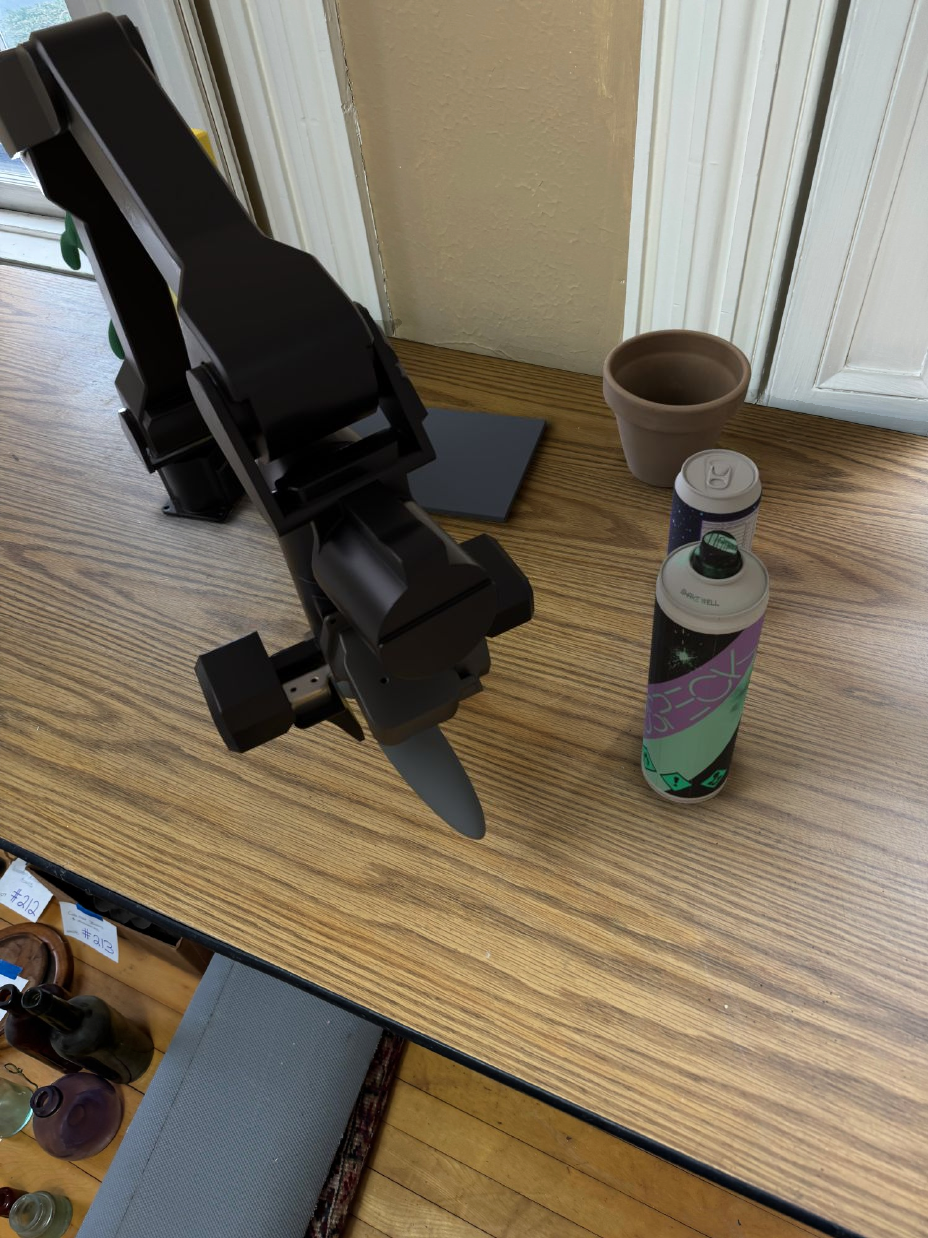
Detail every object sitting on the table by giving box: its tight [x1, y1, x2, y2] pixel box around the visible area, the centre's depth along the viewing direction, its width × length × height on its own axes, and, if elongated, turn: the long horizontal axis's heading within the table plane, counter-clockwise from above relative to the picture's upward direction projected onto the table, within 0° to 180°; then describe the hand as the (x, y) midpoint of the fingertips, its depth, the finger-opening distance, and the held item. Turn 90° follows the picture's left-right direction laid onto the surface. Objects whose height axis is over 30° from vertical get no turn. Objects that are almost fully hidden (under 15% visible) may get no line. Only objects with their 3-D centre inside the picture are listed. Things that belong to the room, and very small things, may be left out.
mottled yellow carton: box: [59, 127, 220, 361], centre depth 85 cm, size 18×12×24 cm
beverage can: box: [666, 448, 763, 557], centre depth 60 cm, size 6×6×12 cm
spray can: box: [640, 530, 771, 805], centre depth 48 cm, size 6×6×20 cm
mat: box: [347, 406, 548, 524], centre depth 80 cm, size 22×14×1 cm, turn 72°
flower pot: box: [602, 328, 752, 488], centre depth 71 cm, size 12×11×10 cm
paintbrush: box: [337, 681, 487, 841], centre depth 54 cm, size 20×5×5 cm, turn 38°
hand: (393, 720), depth 54 cm, fingers closed on paintbrush, 4 cm apart
